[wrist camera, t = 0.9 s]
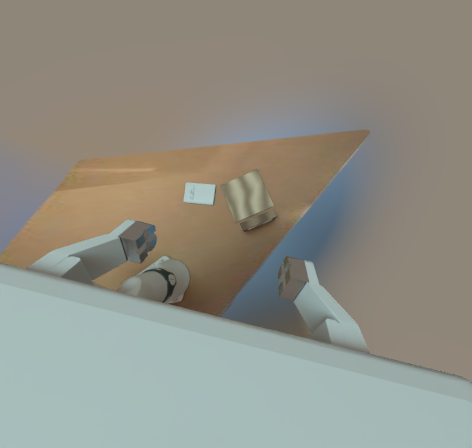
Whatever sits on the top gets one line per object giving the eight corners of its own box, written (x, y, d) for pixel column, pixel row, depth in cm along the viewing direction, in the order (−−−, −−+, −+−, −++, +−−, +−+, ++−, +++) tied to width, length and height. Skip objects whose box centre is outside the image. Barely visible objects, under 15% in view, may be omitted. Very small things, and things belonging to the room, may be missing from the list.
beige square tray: (235, 222, 67) (235, 222, 67) (220, 186, 69) (220, 185, 68) (273, 206, 66) (273, 205, 65) (257, 169, 67) (257, 169, 67)
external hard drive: (214, 205, 69) (184, 202, 71) (216, 185, 70) (187, 183, 71) (213, 204, 67) (183, 201, 69) (215, 184, 68) (185, 182, 69)
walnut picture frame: (245, 231, 66) (243, 231, 55) (242, 225, 67) (240, 223, 56) (274, 219, 65) (277, 216, 54) (271, 213, 66) (274, 208, 55)
